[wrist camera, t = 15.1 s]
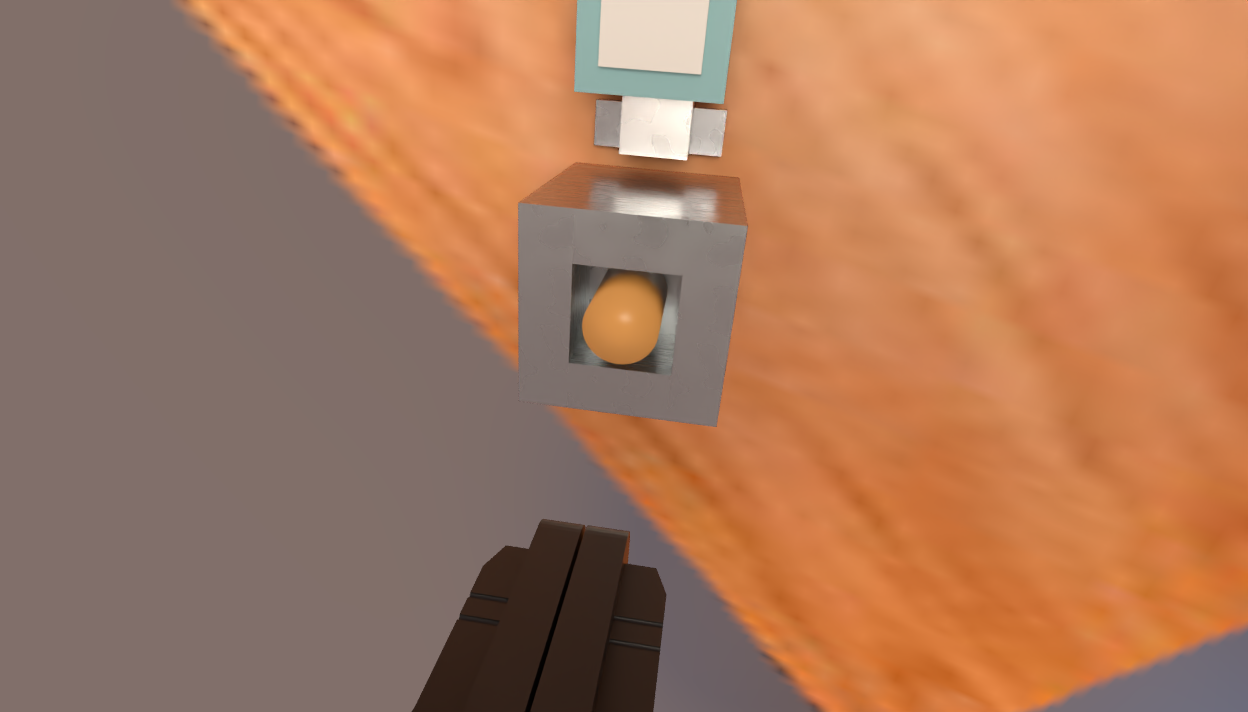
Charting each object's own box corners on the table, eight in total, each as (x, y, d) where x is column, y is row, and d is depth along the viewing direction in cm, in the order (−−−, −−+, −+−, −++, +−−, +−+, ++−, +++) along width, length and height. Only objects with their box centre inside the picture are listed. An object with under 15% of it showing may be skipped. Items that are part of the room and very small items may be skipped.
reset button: (670, 262, 26) (662, 297, 22) (664, 325, 27) (654, 368, 23) (603, 255, 26) (583, 288, 22) (599, 317, 27) (580, 359, 23)
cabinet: (738, 177, 30) (747, 226, 21) (716, 330, 34) (716, 426, 25) (562, 161, 31) (499, 200, 22) (558, 311, 35) (501, 398, 26)
